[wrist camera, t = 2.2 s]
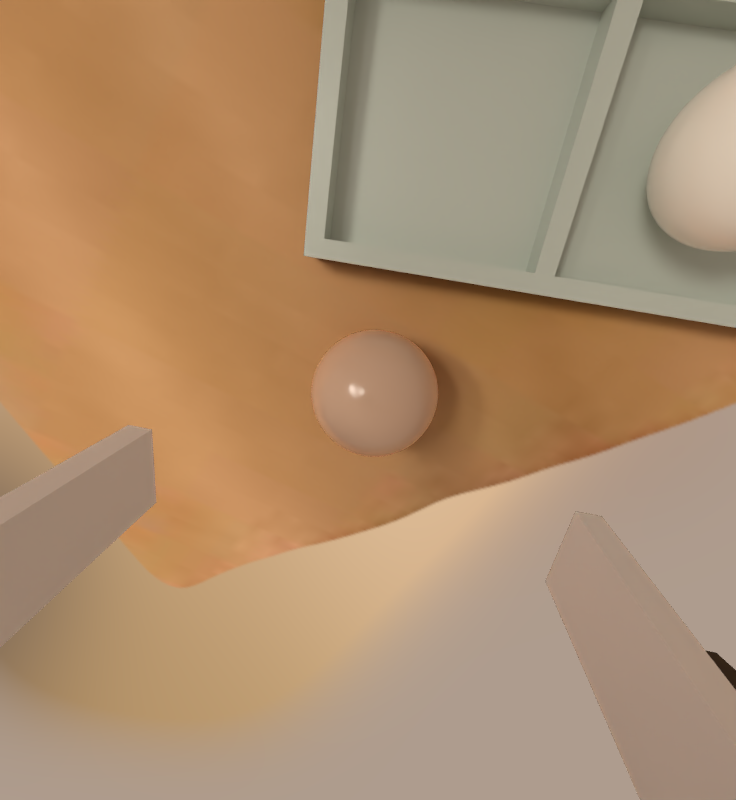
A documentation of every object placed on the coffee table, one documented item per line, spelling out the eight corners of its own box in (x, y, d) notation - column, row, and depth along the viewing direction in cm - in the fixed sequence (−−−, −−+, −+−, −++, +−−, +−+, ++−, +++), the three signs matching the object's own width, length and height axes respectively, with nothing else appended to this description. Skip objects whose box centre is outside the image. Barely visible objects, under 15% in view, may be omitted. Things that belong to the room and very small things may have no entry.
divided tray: (341, -43, 17) (332, -85, 15) (905, 32, 16) (978, -2, 14) (313, 256, 22) (303, 255, 20) (747, 328, 21) (785, 336, 19)
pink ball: (332, 312, 23) (302, 331, 16) (444, 331, 22) (460, 359, 16) (320, 414, 25) (290, 467, 19) (421, 433, 25) (426, 493, 18)
